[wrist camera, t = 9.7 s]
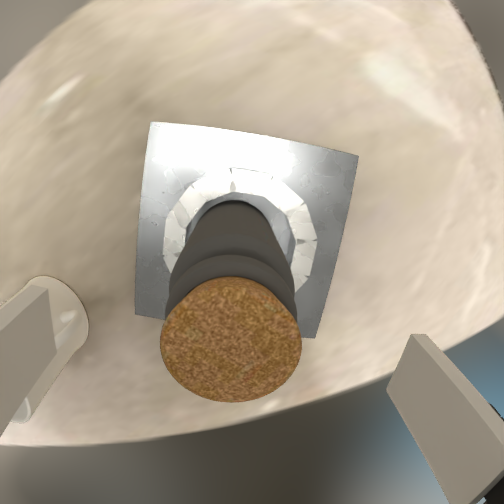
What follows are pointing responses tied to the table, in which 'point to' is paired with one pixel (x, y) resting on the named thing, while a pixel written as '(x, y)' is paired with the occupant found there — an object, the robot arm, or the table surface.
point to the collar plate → (248, 190)
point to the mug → (66, 339)
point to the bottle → (231, 308)
